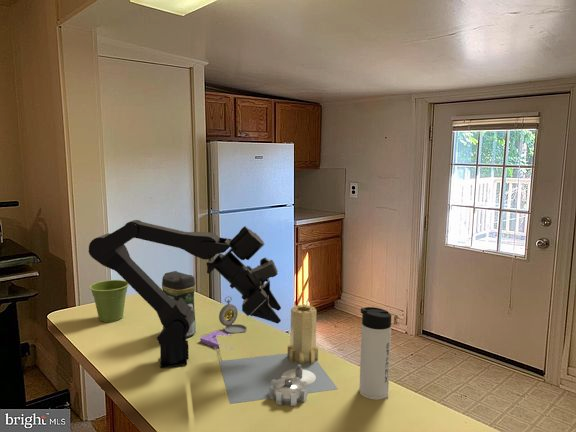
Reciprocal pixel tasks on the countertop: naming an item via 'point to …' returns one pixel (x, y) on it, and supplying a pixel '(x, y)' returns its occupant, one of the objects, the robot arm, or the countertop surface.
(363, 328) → the travel mug
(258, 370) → the gear board
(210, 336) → the sponges
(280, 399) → the gear
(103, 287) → the plant pot
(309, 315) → the gear
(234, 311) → the pocket watch
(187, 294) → the coffee jar
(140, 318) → the countertop surface
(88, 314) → the countertop surface
